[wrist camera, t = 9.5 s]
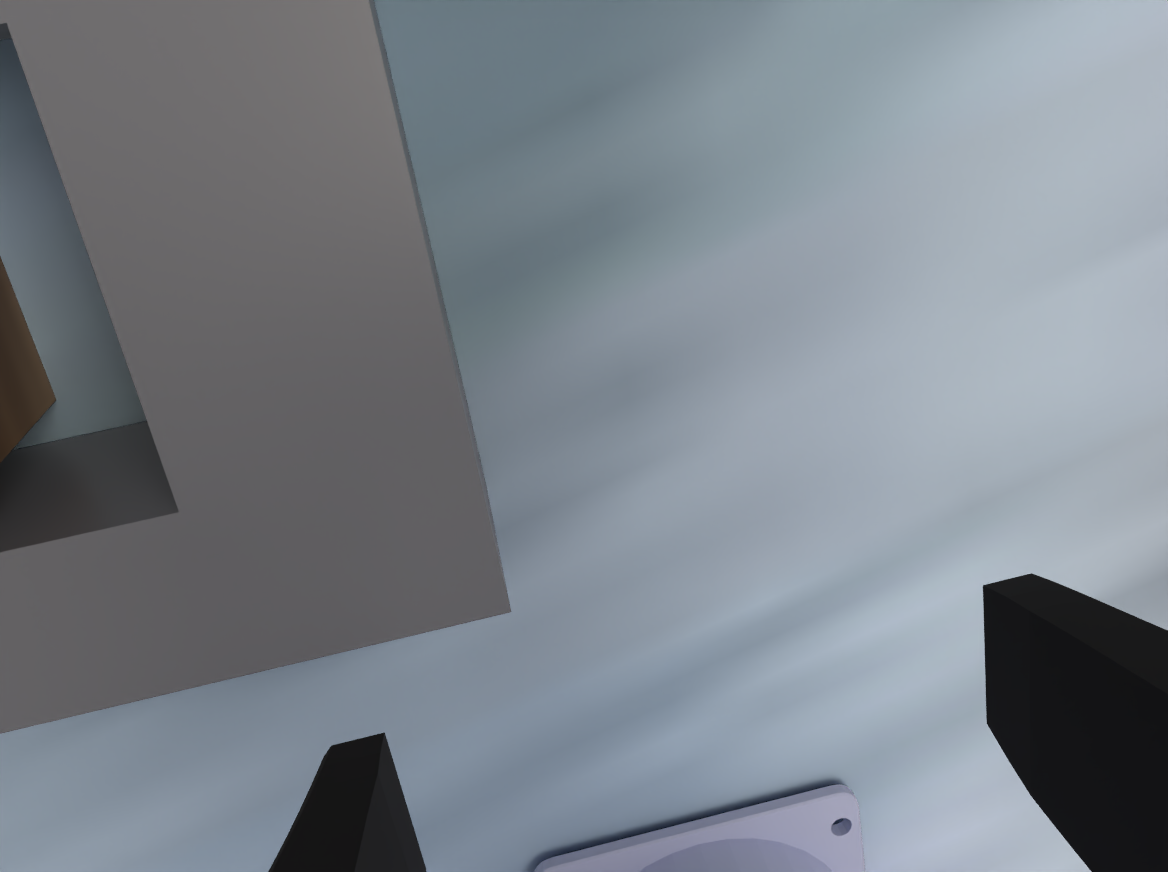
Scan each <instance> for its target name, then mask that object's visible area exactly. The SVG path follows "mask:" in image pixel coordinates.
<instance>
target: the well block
mask: <svg viewBox="0 0 1168 872" xmlns="http://www.w3.org/2000/svg"><path fill="white" fill-rule="evenodd" d="M11 38H12V40H13V43H14V46H15V48H16V51H17V54H18V57H19V60H20V63H21V65H22V68H23V71H24V74H25V77H26V80H27V82H28V85H29V88H30V91H31V94H32V97H33V99H34V102H35V105H36V108H37V111H38V114H39V116H40V119H41V122H42V125H43V128H44V131H45V133H46V136H47V139H48V142H49V145H50V148H51V150H52V153H53V156H54V159H55V162H56V165H57V167H58V170H59V173H60V176H61V179H62V182H63V184H64V187H65V190H66V193H67V196H68V199H69V201H70V204H71V207H72V210H73V213H74V216H75V218H76V221H77V224H78V227H79V230H80V233H81V235H82V238H83V241H84V244H85V247H86V250H87V252H88V255H89V258H90V261H91V264H92V267H93V269H94V272H95V275H96V278H97V281H98V284H99V286H100V289H101V292H102V295H103V298H104V301H105V303H106V306H107V309H108V312H109V315H110V318H111V320H112V323H113V326H114V329H115V332H116V335H117V337H118V340H119V343H120V346H121V349H122V352H123V354H124V357H125V360H126V363H127V366H128V369H129V371H130V374H131V377H132V380H133V383H134V386H135V388H136V391H137V394H138V397H139V400H140V403H141V405H142V408H143V411H144V414H145V417H146V420H147V421H146V422H141V423H137V424H132V425H127V426H123V427H118V428H114V429H109V430H104V431H100V432H95V433H90V434H86V435H81V436H77V437H72V438H67V439H63V440H58V441H54V442H49V443H44V444H40V445H35V446H31V447H26V448H21V449H17V450H12V451H11V452H10V453H9V454H8V455H7V456H6V457H5V458H4V459H3V461H2V462H1V463H0V733H5V732H9V731H13V730H17V729H21V728H26V727H30V726H34V725H38V724H42V723H47V722H51V721H55V720H59V719H64V718H68V717H72V716H76V715H80V714H85V713H89V712H93V711H97V710H101V709H106V708H110V707H114V706H118V705H122V704H127V703H131V702H135V701H139V700H143V699H148V698H152V697H156V696H160V695H164V694H169V693H173V692H177V691H181V690H185V689H190V688H194V687H198V686H202V685H206V684H211V683H215V682H219V681H223V680H227V679H232V678H236V677H240V676H244V675H248V674H253V673H257V672H261V671H265V670H269V669H274V668H278V667H282V666H286V665H290V664H295V663H299V662H303V661H307V660H312V659H316V658H320V657H324V656H328V655H333V654H337V653H341V652H345V651H349V650H354V649H358V648H362V647H366V646H370V645H375V644H379V643H383V642H387V641H391V640H396V639H400V638H404V637H408V636H412V635H417V634H421V633H425V632H429V631H433V630H438V629H442V628H446V627H450V626H454V625H459V624H463V623H467V622H471V621H475V620H480V619H484V618H488V617H492V616H496V615H501V614H505V613H509V612H511V609H510V604H509V599H508V594H507V589H506V584H505V579H504V573H503V568H502V563H501V558H500V553H499V548H498V543H497V538H496V532H495V527H494V522H493V517H492V512H491V507H490V502H489V496H488V491H487V487H486V483H485V478H484V474H483V470H482V465H481V461H480V457H479V452H478V448H477V444H476V439H475V435H474V431H473V426H472V422H471V418H470V413H469V409H468V405H467V400H466V396H465V392H464V387H463V383H462V379H461V374H460V370H459V366H458V361H457V357H456V353H455V348H454V344H453V340H452V335H451V331H450V327H449V322H448V318H447V314H446V309H445V305H444V301H443V297H442V292H441V288H440V284H439V279H438V275H437V271H436V266H435V262H434V258H433V253H432V249H431V245H430V240H429V236H428V232H427V227H426V223H425V219H424V214H423V210H422V206H421V201H420V197H419V193H418V188H417V184H416V180H415V175H414V171H413V167H412V162H411V158H410V154H409V149H408V145H407V141H406V136H405V132H404V128H403V123H402V119H401V115H400V110H399V106H398V102H397V97H396V93H395V89H394V84H393V80H392V76H391V71H390V67H389V63H388V58H387V54H386V50H385V45H384V41H383V37H382V32H381V28H380V24H379V20H378V15H377V11H376V7H375V2H374V0H0V40H5V39H11Z"/></svg>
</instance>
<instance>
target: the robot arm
mask: <svg viewBox="0 0 1168 872" xmlns="http://www.w3.org/2000/svg"><path fill="white" fill-rule="evenodd" d="M983 601H984V637H985V674H986V711H987V724H988V726H989V728H990V729H991V731H992V733H993V735H994V736H995V738H996V740H997V741H998V743H999V745H1000V746H1001V748H1002V750H1003V752H1004V753H1005V755H1006V757H1007V758H1008V760H1009V762H1010V763H1011V765H1012V767H1013V768H1014V770H1015V771H1016V773H1017V774H1018V776H1019V778H1020V779H1021V781H1022V782H1023V784H1024V785H1025V787H1026V789H1027V790H1028V792H1029V793H1030V795H1031V796H1032V798H1033V799H1034V800H1035V801H1036V803H1037V804H1038V805H1039V807H1040V808H1041V809H1042V810H1043V812H1044V813H1045V814H1046V815H1047V817H1048V818H1049V819H1050V821H1051V822H1052V823H1053V824H1054V826H1055V827H1056V828H1057V829H1058V831H1059V832H1060V833H1061V834H1062V836H1063V837H1064V838H1065V839H1066V841H1067V842H1068V843H1069V844H1070V846H1071V847H1072V848H1073V849H1074V851H1075V852H1076V853H1077V854H1078V855H1079V857H1080V858H1081V859H1082V860H1083V862H1084V863H1085V864H1086V865H1087V867H1088V868H1089V869H1090V870H1091V871H1092V872H1168V631H1167V630H1165V629H1163V628H1160V627H1158V626H1156V625H1153V624H1151V623H1149V622H1146V621H1144V620H1142V619H1139V618H1137V617H1135V616H1133V615H1130V614H1128V613H1126V612H1123V611H1121V610H1119V609H1116V608H1114V607H1112V606H1110V605H1107V604H1105V603H1103V602H1100V601H1098V600H1096V599H1093V598H1091V597H1089V596H1086V595H1084V594H1082V593H1079V592H1077V591H1075V590H1072V589H1070V588H1068V587H1065V586H1063V585H1060V584H1058V583H1055V582H1053V581H1050V580H1048V579H1045V578H1042V577H1040V576H1037V575H1034V574H1027V575H1023V576H1019V577H1015V578H1011V579H1007V580H1003V581H999V582H995V583H991V584H987V585H983ZM840 818H844V819H843V821H842V822H840V823H838V824H835V825H832V824H833V823H834V822H835V821H836V820H838V819H840ZM269 872H426V867H425V864H424V861H423V857H422V854H421V851H420V847H419V844H418V841H417V838H416V834H415V831H414V828H413V825H412V821H411V818H410V815H409V811H408V808H407V805H406V802H405V798H404V795H403V792H402V788H401V785H400V782H399V779H398V775H397V772H396V769H395V765H394V762H393V759H392V756H391V752H390V749H389V746H388V742H387V739H386V736H385V733H381V734H377V735H373V736H369V737H365V738H361V739H357V740H353V741H349V742H344V743H340V744H336V745H332V746H331V747H330V749H329V750H328V751H327V753H326V754H325V756H324V758H323V760H322V762H321V764H320V767H319V769H318V771H317V774H316V776H315V778H314V780H313V782H312V785H311V787H310V789H309V791H308V794H307V796H306V798H305V800H304V802H303V804H302V806H301V809H300V811H299V813H298V815H297V817H296V819H295V821H294V823H293V825H292V827H291V829H290V831H289V833H288V835H287V837H286V839H285V841H284V843H283V845H282V847H281V849H280V851H279V853H278V855H277V857H276V859H275V860H274V862H273V864H272V866H271V868H270V870H269ZM534 872H865V863H864V853H863V843H862V833H861V823H860V813H859V804H858V801H857V798H856V797H855V795H854V793H853V792H852V790H851V789H850V788H848V787H847V786H844V785H841V784H838V785H831V786H827V787H823V788H819V789H815V790H811V791H807V792H804V793H800V794H796V795H792V796H788V797H784V798H780V799H776V800H773V801H769V802H765V803H761V804H757V805H753V806H749V807H745V808H742V809H738V810H734V811H730V812H726V813H722V814H718V815H714V816H711V817H707V818H703V819H699V820H695V821H691V822H687V823H683V824H679V825H676V826H672V827H668V828H664V829H660V830H656V831H652V832H648V833H645V834H641V835H637V836H633V837H629V838H625V839H621V840H617V841H614V842H610V843H606V844H602V845H598V846H594V847H590V848H586V849H583V850H579V851H575V852H571V853H567V854H563V855H559V856H555V857H551V858H549V859H546V860H544V861H542V862H541V863H540V864H539V865H538V866H537V867H536V869H535V871H534Z"/></svg>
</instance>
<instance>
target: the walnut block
mask: <svg viewBox="0 0 1168 872" xmlns="http://www.w3.org/2000/svg"><path fill="white" fill-rule="evenodd" d="M55 401H56V398H55V395H54V393H53V390H52V388H51V385H50V382H49V380H48V377H47V375H46V372H45V370H44V367H43V364H42V362H41V359H40V357H39V354H38V352H37V349H36V347H35V344H34V341H33V339H32V336H31V334H30V331H29V329H28V326H27V323H26V321H25V318H24V316H23V313H22V311H21V308H20V305H19V303H18V300H17V298H16V295H15V293H14V290H13V288H12V285H11V282H10V280H9V277H8V275H7V272H6V270H5V267H4V264H3V262H2V259H1V257H0V463H1V462H2V461H3V459H4V458H5V457H6V456H7V455H8V454H9V453H10V452H11V450H12V449H13V448H14V447H15V446H16V445H17V444H18V442H19V441H20V440H21V439H22V438H23V437H24V436H25V435H26V433H27V432H28V431H29V430H30V429H31V428H32V427H33V425H34V424H35V423H36V422H37V421H38V420H39V419H40V418H41V416H42V415H43V414H44V413H45V412H46V411H47V410H48V408H49V407H50V406H51V405H52V404H53V403H54V402H55Z"/></svg>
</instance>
